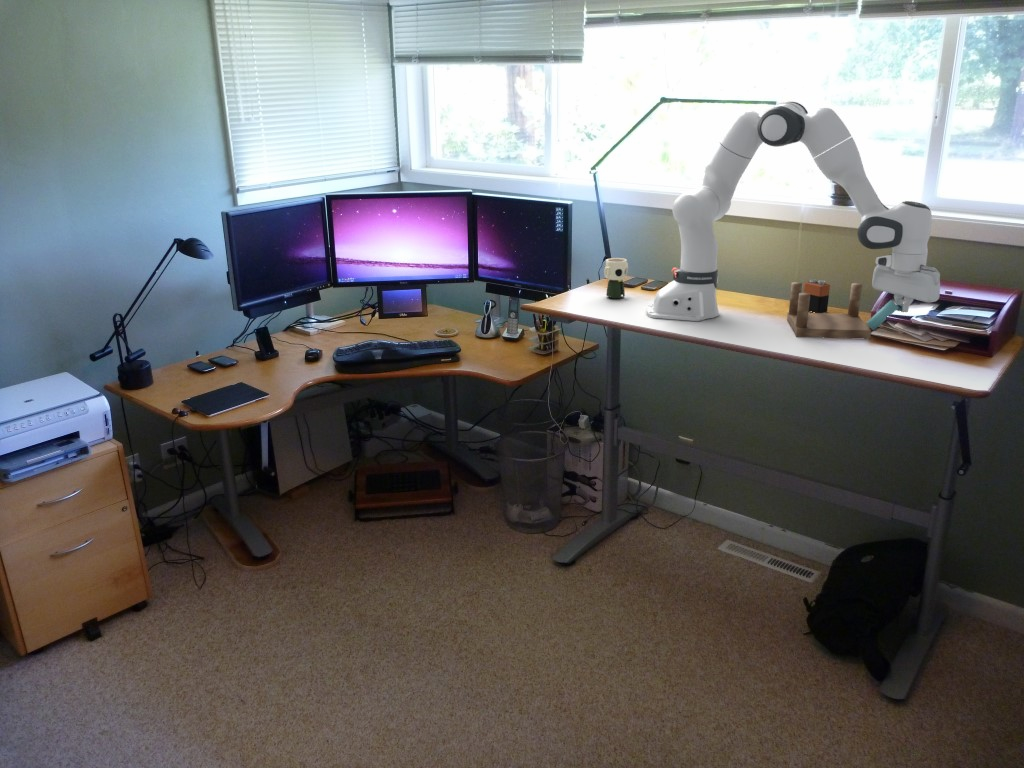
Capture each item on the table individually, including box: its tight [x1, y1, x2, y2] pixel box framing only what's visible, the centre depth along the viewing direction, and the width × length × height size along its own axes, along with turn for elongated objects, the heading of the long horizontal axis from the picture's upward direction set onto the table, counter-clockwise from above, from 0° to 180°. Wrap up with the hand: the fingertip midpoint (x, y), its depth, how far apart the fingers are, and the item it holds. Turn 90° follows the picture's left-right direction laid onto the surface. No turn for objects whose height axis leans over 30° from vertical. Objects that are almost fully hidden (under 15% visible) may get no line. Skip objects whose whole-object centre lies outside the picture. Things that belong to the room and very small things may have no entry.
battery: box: [802, 278, 831, 313], centre depth 263 cm, size 4×7×10 cm, turn 32°
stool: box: [786, 281, 872, 340], centre depth 243 cm, size 20×18×12 cm
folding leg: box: [865, 299, 899, 331], centre depth 234 cm, size 3×3×9 cm
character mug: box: [603, 257, 629, 299], centre depth 283 cm, size 11×7×13 cm, turn 128°
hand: (901, 311), depth 234 cm, fingers closed
